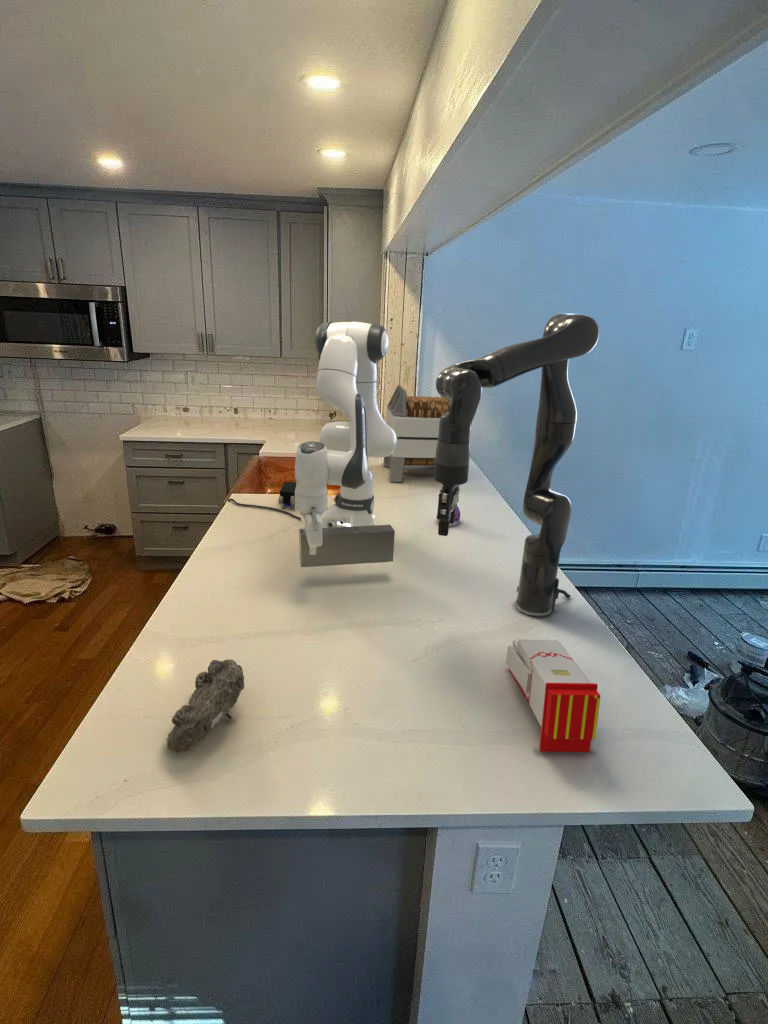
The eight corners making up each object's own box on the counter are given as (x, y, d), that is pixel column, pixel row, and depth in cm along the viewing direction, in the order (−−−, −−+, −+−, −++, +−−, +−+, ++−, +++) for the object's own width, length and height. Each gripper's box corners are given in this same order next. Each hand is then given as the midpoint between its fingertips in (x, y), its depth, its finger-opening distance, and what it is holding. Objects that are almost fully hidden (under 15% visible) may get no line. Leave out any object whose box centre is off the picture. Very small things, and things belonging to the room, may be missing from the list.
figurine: (445, 529, 206) (449, 489, 200) (430, 519, 214) (433, 481, 209) (467, 525, 210) (470, 487, 205) (451, 516, 218) (454, 479, 213)
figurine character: (295, 514, 218) (300, 497, 231) (295, 496, 214) (299, 480, 228) (278, 513, 217) (283, 497, 231) (277, 495, 214) (283, 480, 227)
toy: (554, 622, 128) (610, 691, 98) (548, 677, 130) (601, 759, 101) (501, 621, 127) (541, 690, 98) (496, 676, 130) (534, 758, 101)
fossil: (192, 660, 117) (244, 628, 112) (224, 691, 120) (276, 661, 115) (142, 746, 98) (202, 712, 93) (182, 779, 101) (242, 748, 96)
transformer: (382, 463, 289) (386, 382, 275) (445, 464, 293) (451, 384, 279) (390, 482, 257) (394, 392, 243) (460, 483, 261) (468, 394, 247)
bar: (301, 567, 157) (300, 535, 154) (299, 560, 162) (298, 528, 158) (393, 561, 163) (394, 530, 160) (388, 554, 168) (390, 524, 165)
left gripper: (328, 514, 145) (327, 563, 150) (317, 491, 164) (317, 535, 169) (303, 515, 144) (303, 565, 148) (296, 491, 163) (296, 536, 167)
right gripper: (464, 470, 118) (457, 542, 123) (473, 455, 131) (466, 520, 136) (429, 466, 120) (423, 537, 125) (441, 451, 133) (436, 516, 138)
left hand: (311, 549), depth 159 cm, fingers closed on bar, 5 cm apart
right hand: (446, 528), depth 131 cm, fingers open, 8 cm apart
